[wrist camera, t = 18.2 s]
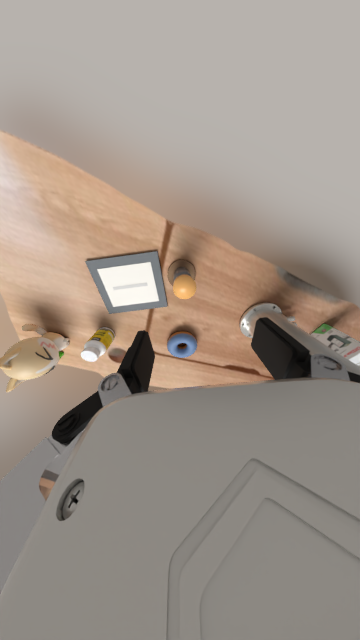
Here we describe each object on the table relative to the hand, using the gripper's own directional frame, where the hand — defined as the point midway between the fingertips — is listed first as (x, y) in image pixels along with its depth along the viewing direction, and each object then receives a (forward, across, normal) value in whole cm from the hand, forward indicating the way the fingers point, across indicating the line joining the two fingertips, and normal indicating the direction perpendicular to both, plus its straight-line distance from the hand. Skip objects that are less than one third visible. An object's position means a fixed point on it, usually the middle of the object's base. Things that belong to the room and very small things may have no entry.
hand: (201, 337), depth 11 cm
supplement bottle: (+25, +27, +14) cm, 39 cm away
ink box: (+27, -44, +25) cm, 57 cm away
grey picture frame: (+25, +14, 0) cm, 29 cm away
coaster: (+25, +1, -1) cm, 25 cm away
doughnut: (+26, +3, +21) cm, 34 cm away
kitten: (+25, +43, +14) cm, 52 cm away
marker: (+24, +1, -1) cm, 25 cm away
